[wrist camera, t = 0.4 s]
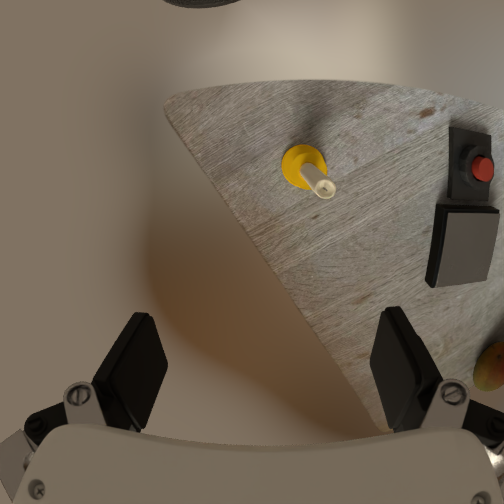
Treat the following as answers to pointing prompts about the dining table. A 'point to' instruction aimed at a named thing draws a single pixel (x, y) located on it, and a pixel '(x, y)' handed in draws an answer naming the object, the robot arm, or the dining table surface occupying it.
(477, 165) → the button
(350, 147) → the dining table surface
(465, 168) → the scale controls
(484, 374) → the fruit
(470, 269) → the scale
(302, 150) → the candle
